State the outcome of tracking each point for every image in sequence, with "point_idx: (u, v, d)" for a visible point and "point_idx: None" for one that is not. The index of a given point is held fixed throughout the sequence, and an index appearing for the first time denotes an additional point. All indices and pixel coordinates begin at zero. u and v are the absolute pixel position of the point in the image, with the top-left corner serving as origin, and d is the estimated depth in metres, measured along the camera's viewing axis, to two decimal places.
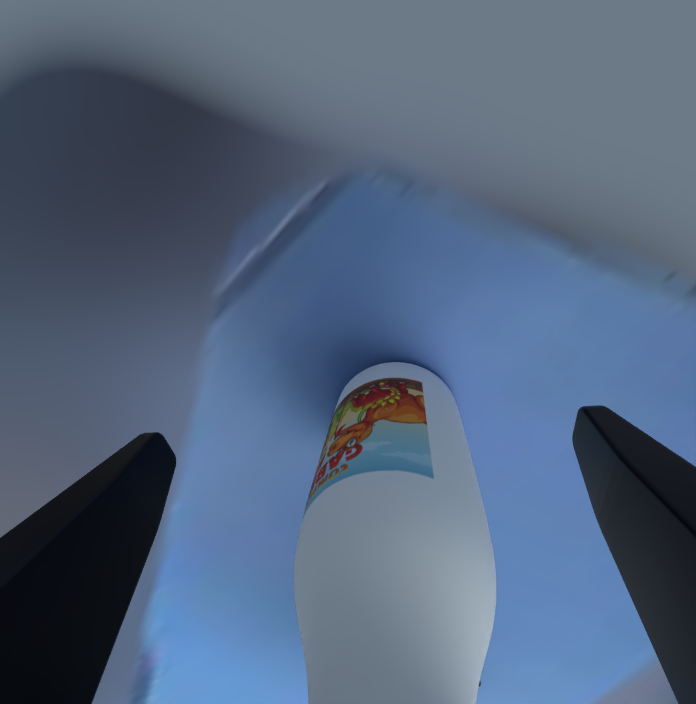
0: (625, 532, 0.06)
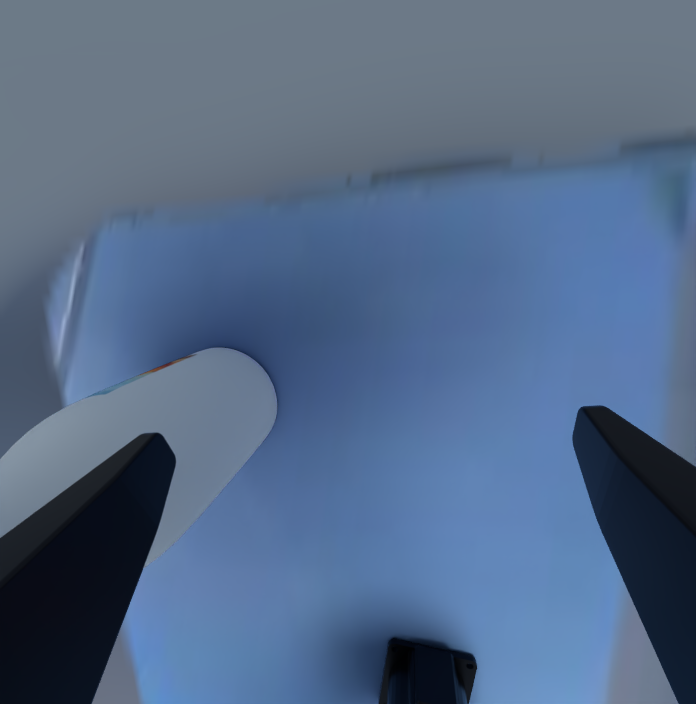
0: (625, 532, 0.06)
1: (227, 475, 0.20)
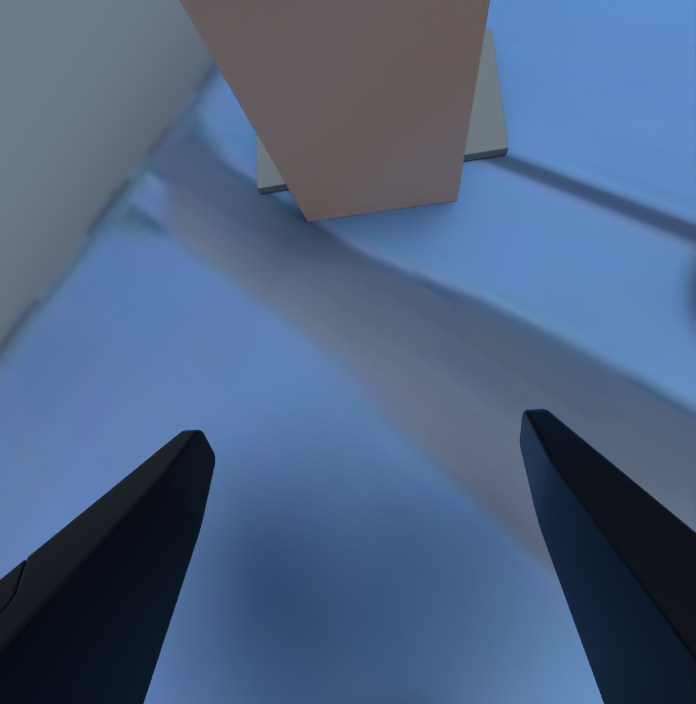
0: (558, 533, 0.07)
1: None
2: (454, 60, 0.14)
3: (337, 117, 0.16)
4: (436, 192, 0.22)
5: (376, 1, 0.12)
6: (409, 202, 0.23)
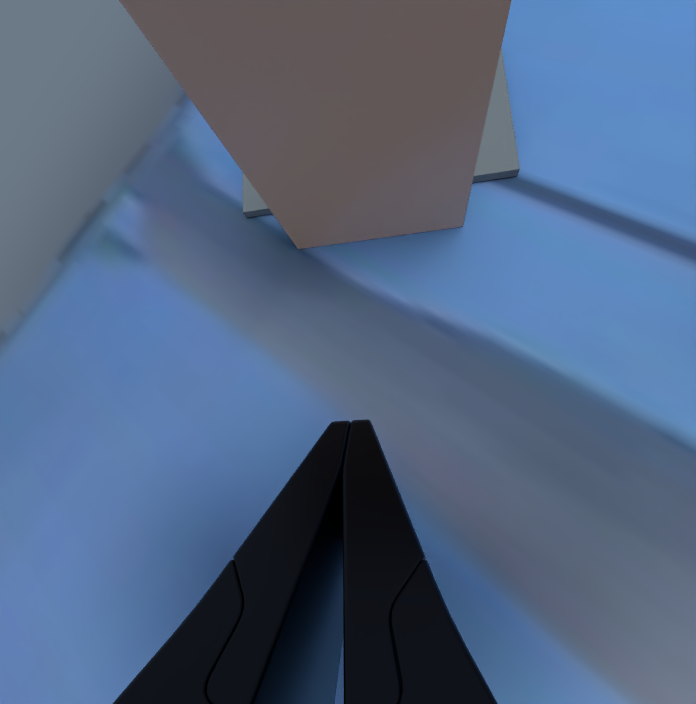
0: None
1: None
2: (464, 77, 0.12)
3: (327, 142, 0.14)
4: (440, 218, 0.20)
5: (370, 8, 0.10)
6: (410, 229, 0.21)
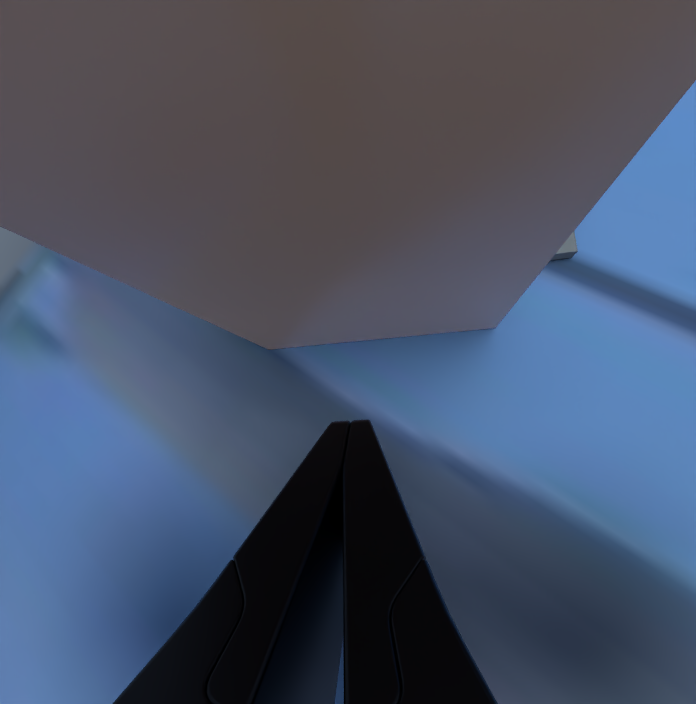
0: None
1: None
2: (548, 188, 0.06)
3: (288, 267, 0.08)
4: (465, 323, 0.14)
5: (353, 71, 0.04)
6: (422, 332, 0.15)
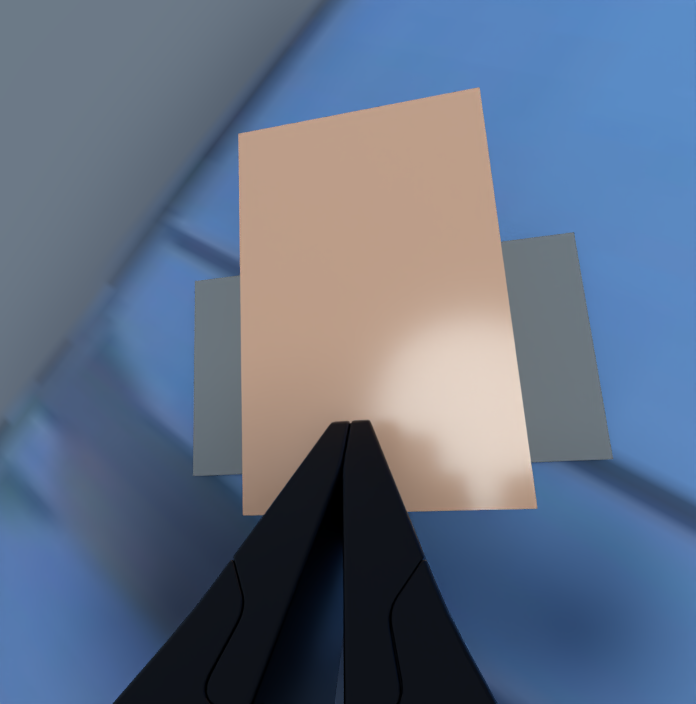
0: None
1: None
2: (467, 206, 0.13)
3: (336, 270, 0.14)
4: (489, 467, 0.12)
5: (387, 149, 0.14)
6: (438, 491, 0.12)
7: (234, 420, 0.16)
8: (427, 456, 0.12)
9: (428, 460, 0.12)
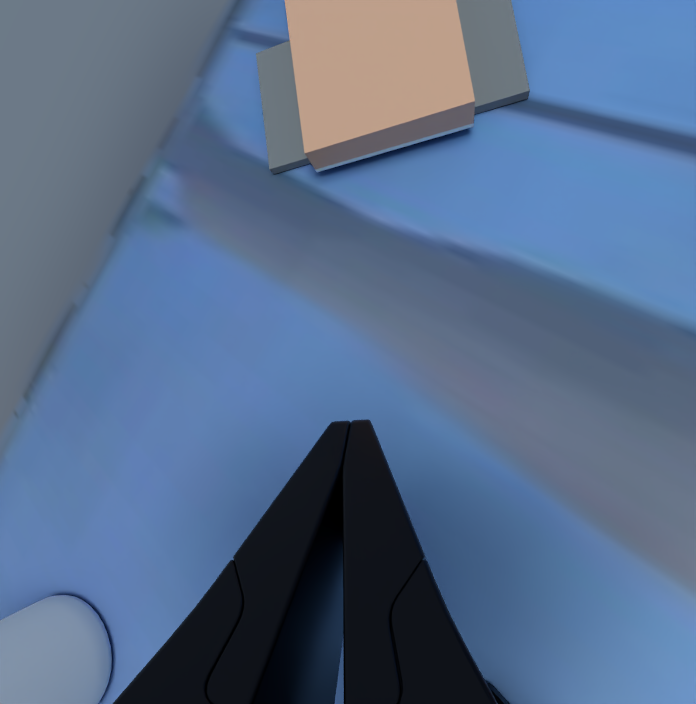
0: None
1: None
2: None
3: (347, 0, 0.22)
4: (446, 87, 0.20)
5: None
6: (417, 108, 0.20)
7: (291, 130, 0.24)
8: (410, 91, 0.20)
9: (410, 93, 0.20)
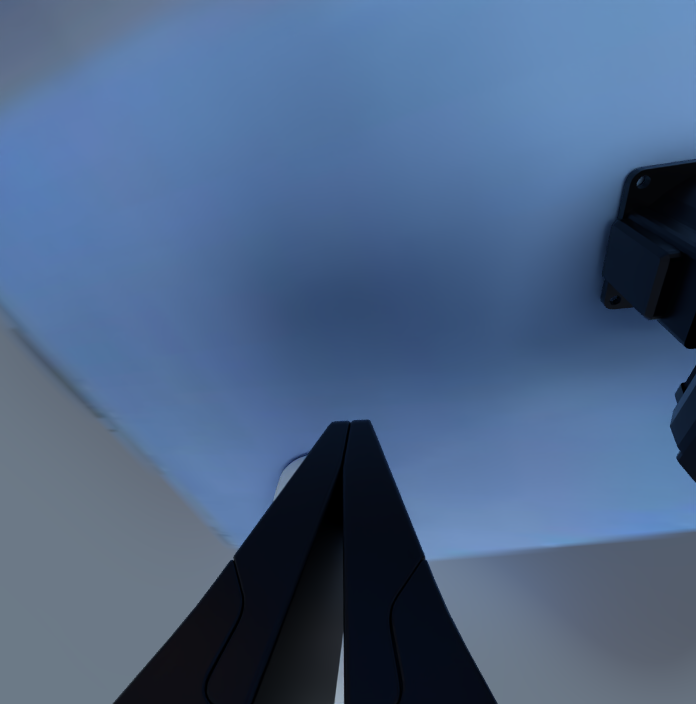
0: None
1: None
2: None
3: None
4: None
5: None
6: None
7: None
8: None
9: None
